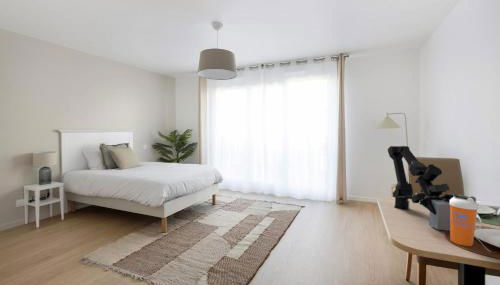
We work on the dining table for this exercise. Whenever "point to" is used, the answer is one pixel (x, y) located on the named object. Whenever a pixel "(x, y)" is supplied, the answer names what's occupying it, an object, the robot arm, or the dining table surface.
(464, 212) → the shaker bottle
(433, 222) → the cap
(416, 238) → the dining table surface
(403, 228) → the dining table surface
